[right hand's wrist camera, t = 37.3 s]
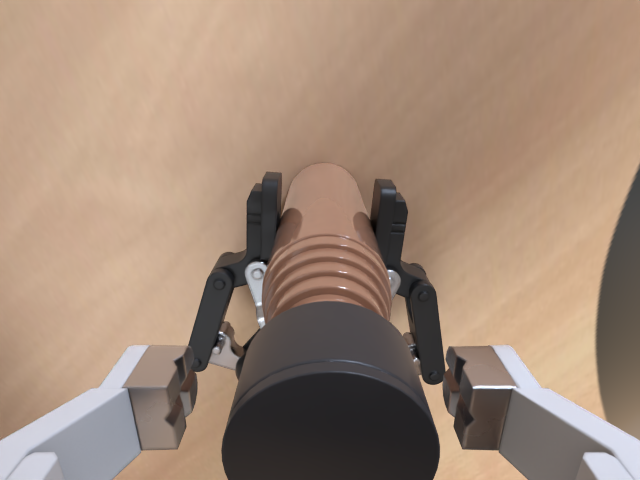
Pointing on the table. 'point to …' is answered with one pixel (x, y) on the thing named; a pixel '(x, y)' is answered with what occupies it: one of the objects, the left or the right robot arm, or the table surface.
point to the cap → (329, 401)
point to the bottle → (325, 247)
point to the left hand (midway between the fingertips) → (329, 181)
